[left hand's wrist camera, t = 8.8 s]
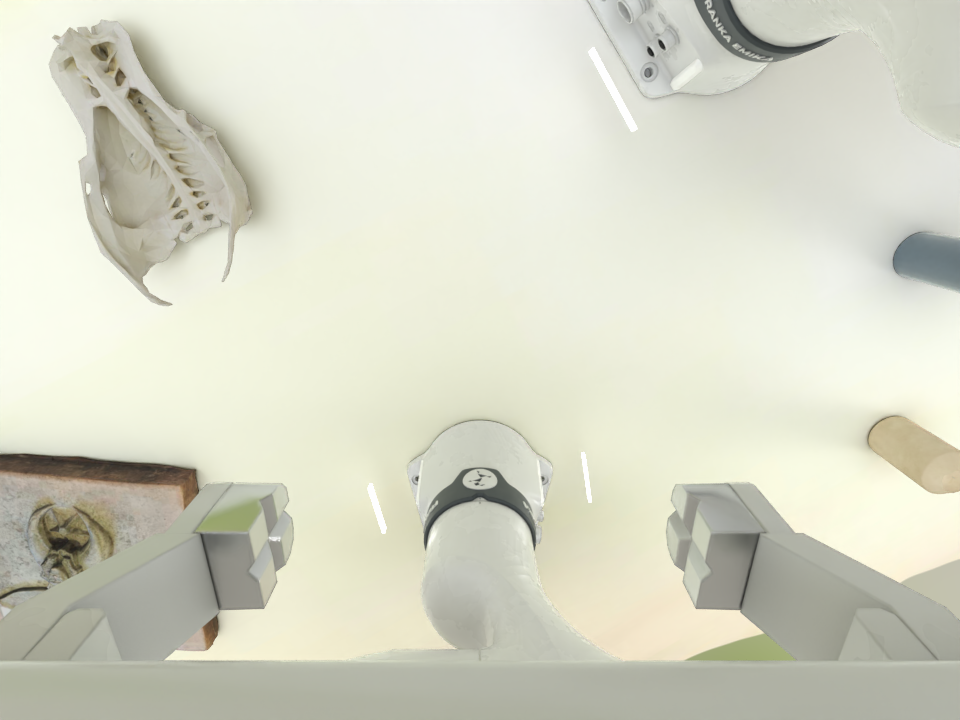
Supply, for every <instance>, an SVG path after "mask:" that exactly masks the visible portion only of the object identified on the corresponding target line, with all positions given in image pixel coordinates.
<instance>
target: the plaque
mask: <svg viewBox="0 0 960 720" xmlns="http://www.w3.org/2000/svg"><path fill="white" fill-rule="evenodd" d="M195 472H196V470H186V469H181V468H177V467H172V466H164V465H155V464H134V463H119V462H106V461H95V460H90V459H86V458H81V457H49V456H38V455H27V454H17V455H0V620H2V619H3V618H4V617H5V616H6V615H7V614H8V613H9V612H10V611H11V610H12V609H13V608H14V607H15V606H17V605H19V604H21V603H23V602H25V601H26V600H28V599H30V598H32V597H34V596H36V595H38V594H40V593H42V592H44V591H46V590H48V589H50V588H52V587H54V586H56V585H57V584H59V583H61V582H63V581H65V580H67V579H69V578H71V577H73V576H75V575H77V574H79V573H81V572H83V571H85V570H87V569H89V568H90V567H92V566H94V565H96V564H98V563H100V562H102V561H104V560H106V559H108V558H110V557H112V556H114V555H116V554H118V553H120V552H121V551H123V550H125V549H127V548H129V547H131V546H133V545H135V544H137V543H139V542H141V541H143V540H145V539H147V538H149V537H151V536H153V535H154V534H156V533H165V532H166V531H167V530H168V529H169V527H170V526H171V525H172V524H173V523H174V521H175V520H176V519H177V518H178V517H179V516H180V514H181V513H182V512H183V511H184V510H185V509H186V507H187V506H188V505H189V504H190V503H191V502H192V500H193V499H194V498H195V497H196V496H197V494H198V493H199V492H198V488H197V481H196V479H195ZM217 635H218V621H217V618H216V616H215V617H214V618H212V619H211V620H210V621H209V622H208V623H207V624H205V625H204V626H203V627H202V628H201V629H200V630H198V631H197V632H196V633H195V634H194V635H193V636H191V637H190V638H189V639H188V640H187V641H186V642H184V643H183V644H182V645H181V646H180V647H179V648H177V649H176V650H185V651H205V650H208V649H209V648H210V647H211V646H212V645H213V642H214V640H215V638H216V637H217Z"/></svg>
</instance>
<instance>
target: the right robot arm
mask: <svg viewBox="0 0 960 720" xmlns="http://www.w3.org/2000/svg"><path fill="white" fill-rule="evenodd" d="M588 2H589V3H590V5H591V7H592V8H593V10H594V12H595V14H596V15H597V17H598V19H599V21H600V22H601V24H602V26H603V27H604V29H605V31H606V33H607V34H608V36H609V38H610V40H611V41H612V43H613V45H614V46H615V48H616V50H617V52H618V53H619V55H620V57H621V58H622V60H623V62H624V64H625V65H626V67H627V69H628V71H629V72H630V74H631V76H632V77H633V79H634V81H635V83H636V84H637V86H638V88H639V89H640V91H641V93H642V94H643V95H644V96H645V97H647V98H659V97H663V96H667V95H670V94H673V93H680V92H681V93H689V94H695V95H716V94H721V93H725V92H728V91H731V90H734V89H736V88H738V87H740V86H742V85H744V84H745V83H747V82H749V81H750V80H752V79H753V78H754V77H755V76H757V75H758V74H759V73H760V72H761V71H762V70H763V69H764V68H765V67H766V66H767V65H768V64H769V63H770V62H777V61H781V60H785V59H788V58H791V57H794V56H797V55H800V54H802V53H805V52H807V51H810V50H812V49H815V48H817V47H820V46H822V45H824V44H826V43H828V42H829V41H831V40H833V39H834V38H836V37H837V36H839V35H840V34H843V33H848V32H852V31H857V30H861V31H862V32H863V33H865V34H866V35H867V36H868V37H869V38H870V39H871V40H872V41H873V42H874V44H875V45H876V46H877V47H878V49H879V50H880V52H881V53H882V55H883V57H884V58H885V60H886V62H887V64H888V67H889V69H890V71H891V74H892V77H893V80H894V83H895V87H896V91H897V95H898V99H899V103H900V108H901V111H902V113H903V114H904V115H905V116H906V117H907V118H908V119H909V120H910V121H911V122H912V123H913V124H914V125H916V126H917V127H918V128H919V129H921V130H922V131H923V132H925V133H927V134H928V135H930V136H932V137H934V138H935V139H937V140H939V141H942V142H944V143H946V144H949V145H951V146H954V147H958V148H960V0H605V1H602V0H588ZM589 54H590V56H591V58H592V59H593V61H594V63H595V65H596V67H597V69H598V70H599V72H600V74H601V76H602V78H603V80H604V82H605V83H606V85H607V87H608V89H609V91H610V93H611V94H612V96H613V98H614V100H615V102H616V104H617V106H618V107H619V109H620V111H621V113H622V115H623V117H624V119H625V120H626V122H627V124H628V126H629V128H630V130H631V131H635V130H636V129H637V127H636V125H635V123H634V121H633V120H632V118H631V116H630V114H629V112H628V110H627V108H626V107H625V105H624V103H623V101H622V99H621V97H620V95H619V94H618V92H617V90H616V88H615V86H614V84H613V82H612V80H611V79H610V77H609V75H608V73H607V71H606V69H605V67H604V66H603V64H602V62H601V60H600V58H599V56H598V54H597V52H596V51H595V49H594V47H593V48H592V49H591V50H590V51H589ZM646 68H648V69H650V71H651V76H650V77H649V78H648V77H646V76H645V74H644V72H645V69H646Z"/></svg>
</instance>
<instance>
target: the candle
mask: <svg viewBox="0 0 960 720" xmlns="http://www.w3.org/2000/svg"><path fill="white" fill-rule="evenodd" d="M868 442H869V446H870V447H871V449H872V450H873V451H874V452H876V453H877V454H878V455H879V456H881V457H882V458H883V459H885V460H886V461H888V462H889V463H890V464H892V465H893V466H894V467H896V468H897V469H898V470H900V471H901V472H902V473H904V474H905V475H906V476H908V477H909V478H910V479H912V480H913V481H914V482H916V483H917V484H919V485H920V486H921V487H923V488H924V489H925V490H927V491H928V492H930V493H934V494H945V493H955V492H958V491H960V450H958V449H956V448H955V447H953V446H951V445H950V444H948V443H946V442H945V441H943V440H941V439H940V438H938V437H937V436H935V435H933V434H932V433H930V432H928V431H927V430H925V429H923V428H922V427H920V426H918V425H917V424H915V423H914V422H912V421H910V420H908V419H906V418H904V417H899V416H894V417H889V418H886V419H884V420H882V421H880V422H879V423H878V424H876V425H875V426H874V428H873V429H872V430H871V432H870V434H869V438H868Z"/></svg>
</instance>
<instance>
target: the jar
mask: <svg viewBox="0 0 960 720" xmlns="http://www.w3.org/2000/svg"><path fill="white" fill-rule="evenodd" d="M893 265H894V269H895V271H896V272H897V274H899V275H900V276H901V277H903V278H907V279H910V280H914V281H918V282H921V283H925V284H928V285H932V286H935V287H939V288H943V289H946V290H950V291H953V292H957V293H960V237H956V236H950V235H944V234H938V233H932V232H919V233H916V234H913V235H911V236H910V237H908V238H907V239H905V240H904V241H903V242H902V243H901V244H900V245H899V247H898V248H897V250H896V252H895V255H894V259H893Z"/></svg>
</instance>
